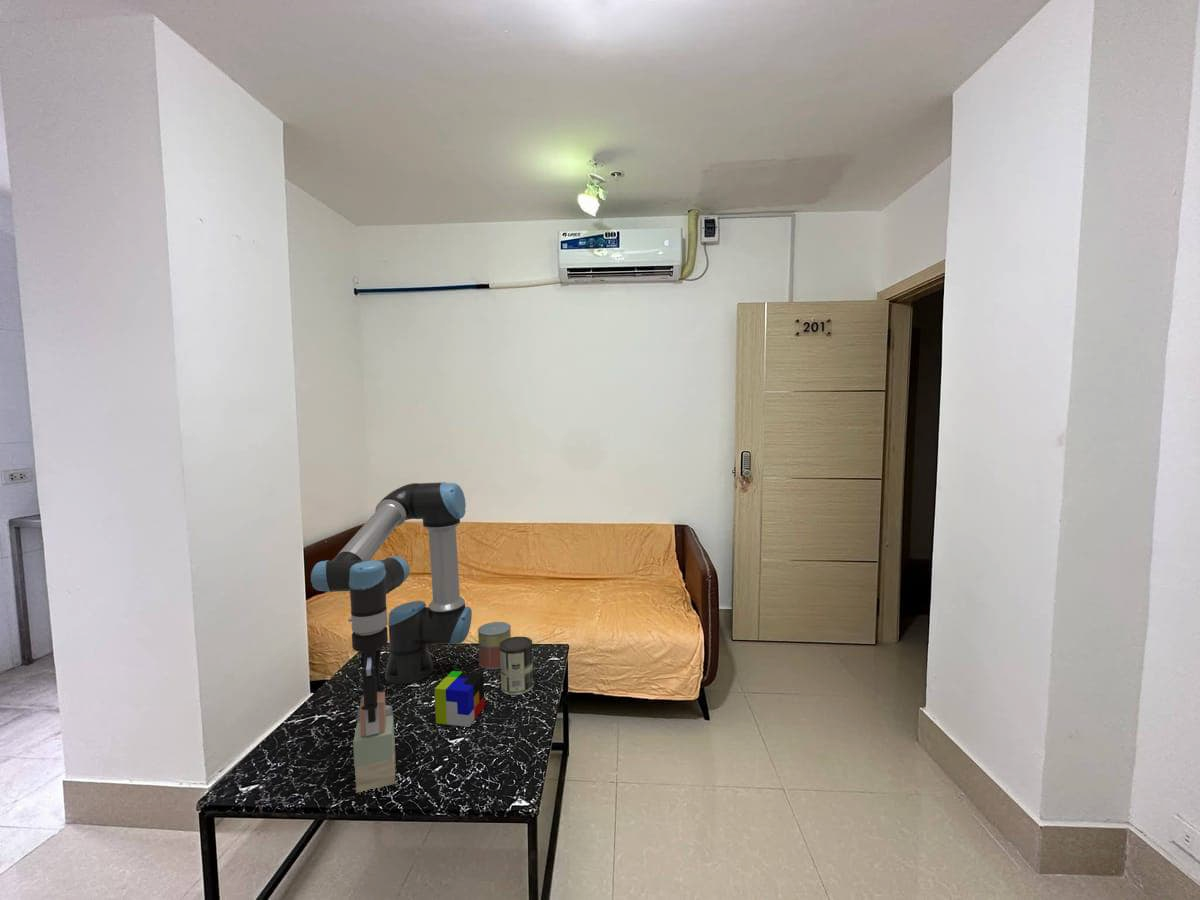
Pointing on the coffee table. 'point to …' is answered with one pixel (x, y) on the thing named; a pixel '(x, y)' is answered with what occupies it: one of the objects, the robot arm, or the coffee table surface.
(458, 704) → the puzzle toy
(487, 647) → the canned food
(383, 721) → the terracotta block
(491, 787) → the coffee table surface
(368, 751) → the sage block
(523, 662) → the coffee can
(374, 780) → the beech block
